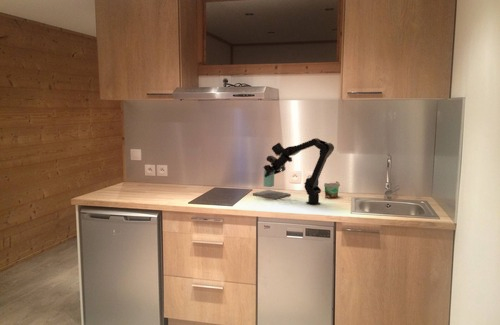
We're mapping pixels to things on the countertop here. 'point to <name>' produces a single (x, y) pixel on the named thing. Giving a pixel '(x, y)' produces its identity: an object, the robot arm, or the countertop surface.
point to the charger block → (268, 180)
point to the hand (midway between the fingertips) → (267, 176)
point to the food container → (331, 190)
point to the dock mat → (271, 194)
